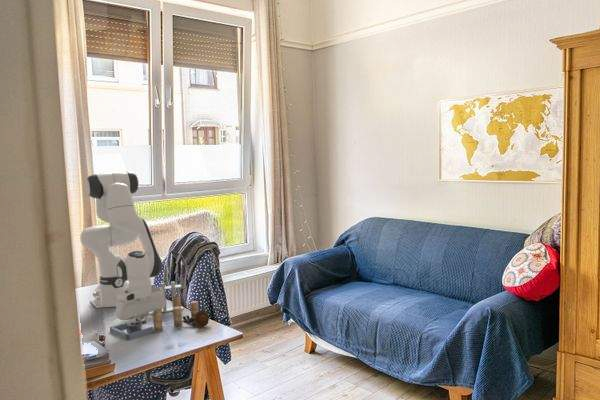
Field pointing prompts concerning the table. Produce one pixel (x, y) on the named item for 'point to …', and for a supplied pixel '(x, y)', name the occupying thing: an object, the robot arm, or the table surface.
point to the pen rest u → (118, 332)
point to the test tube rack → (165, 295)
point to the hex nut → (133, 327)
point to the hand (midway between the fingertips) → (143, 324)
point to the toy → (198, 319)
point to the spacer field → (176, 313)
